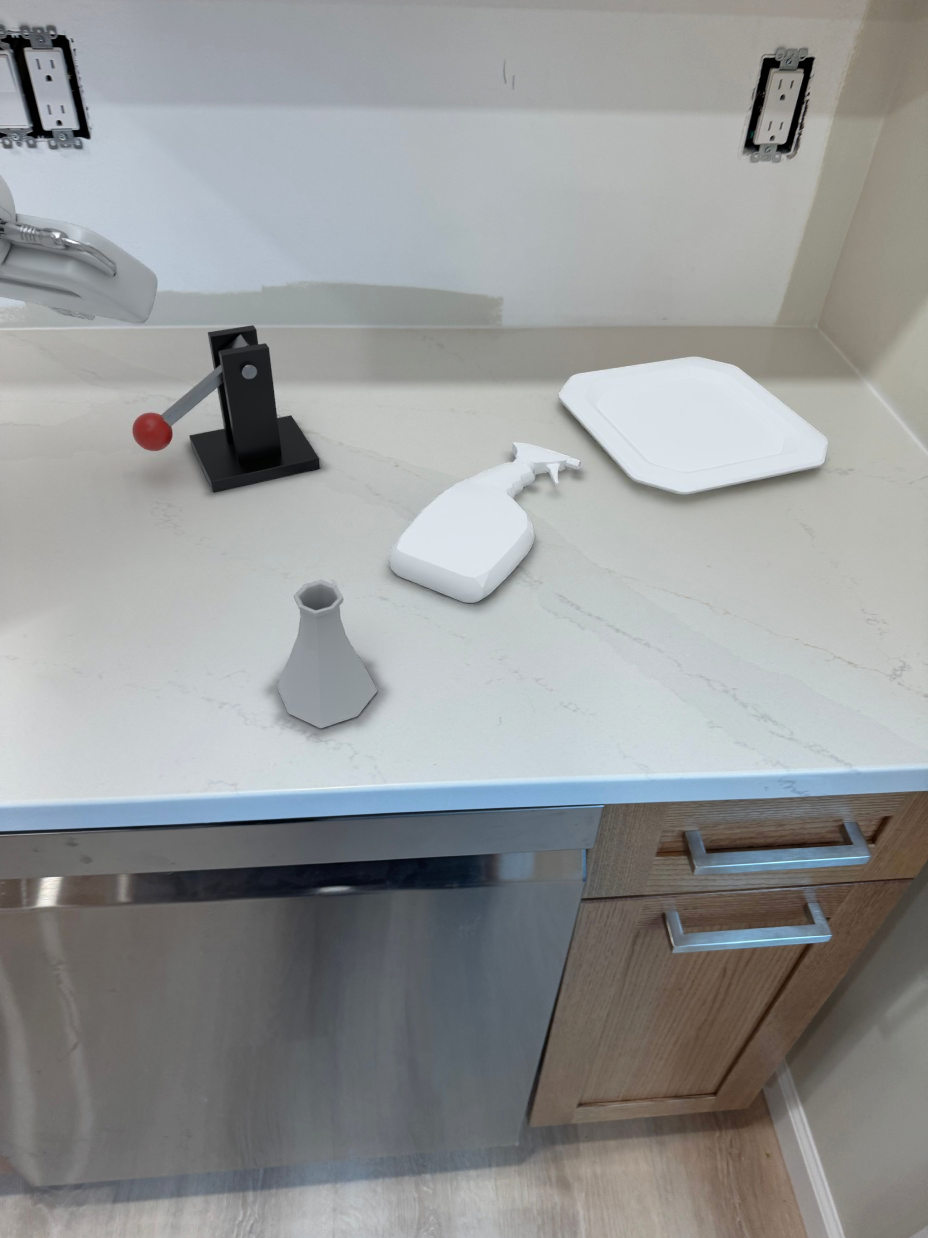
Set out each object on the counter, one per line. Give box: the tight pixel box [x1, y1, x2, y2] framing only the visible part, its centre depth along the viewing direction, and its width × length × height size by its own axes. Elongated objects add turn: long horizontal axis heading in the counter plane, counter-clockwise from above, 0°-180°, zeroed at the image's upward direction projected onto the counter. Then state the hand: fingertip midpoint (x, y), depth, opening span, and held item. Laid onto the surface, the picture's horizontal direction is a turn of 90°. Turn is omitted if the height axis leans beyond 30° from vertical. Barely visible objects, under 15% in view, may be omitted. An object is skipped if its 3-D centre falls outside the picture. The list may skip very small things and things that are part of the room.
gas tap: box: [188, 324, 321, 493], centre depth 81 cm, size 11×9×13 cm
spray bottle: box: [388, 441, 582, 604], centre depth 79 cm, size 3×11×24 cm
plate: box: [557, 355, 829, 496], centre depth 92 cm, size 25×25×2 cm
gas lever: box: [131, 335, 251, 452], centre depth 78 cm, size 14×4×4 cm
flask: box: [276, 579, 378, 729], centre depth 60 cm, size 7×7×10 cm
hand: (80, 308), depth 64 cm, fingers closed
